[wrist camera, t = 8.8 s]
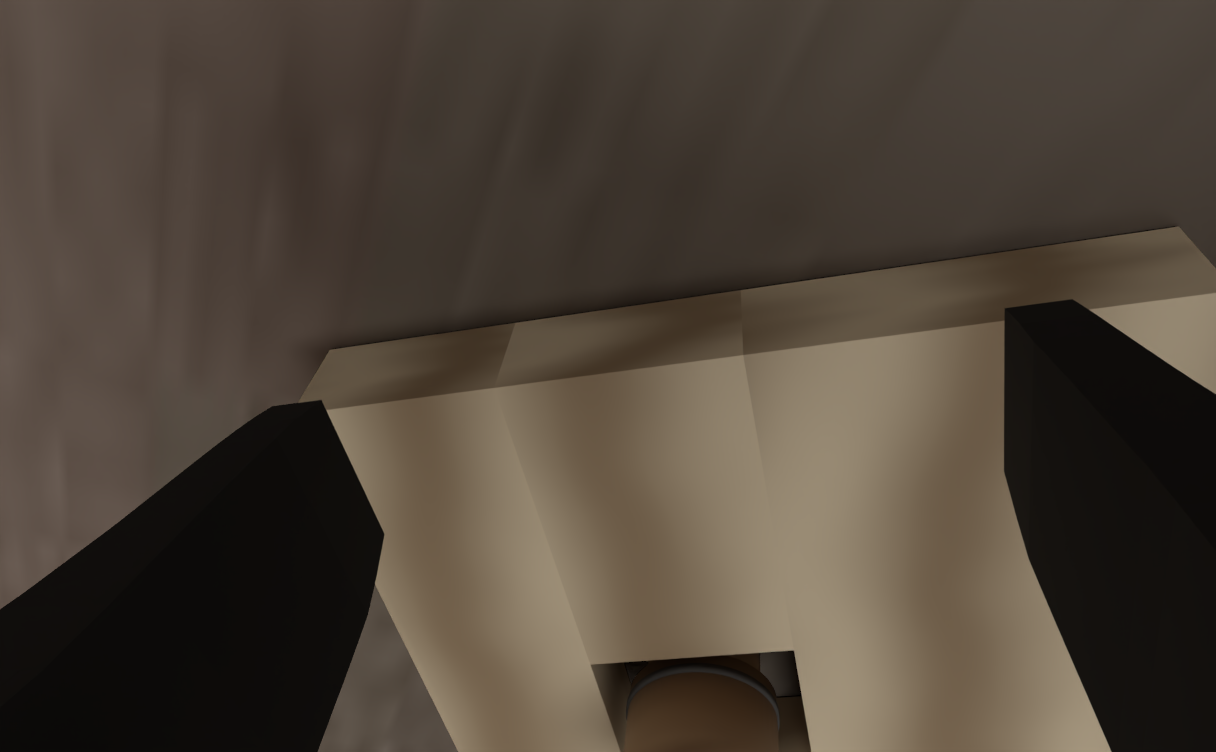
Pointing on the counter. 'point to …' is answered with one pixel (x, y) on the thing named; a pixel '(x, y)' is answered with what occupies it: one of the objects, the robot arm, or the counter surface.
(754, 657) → the peg
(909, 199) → the counter surface
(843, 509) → the board
